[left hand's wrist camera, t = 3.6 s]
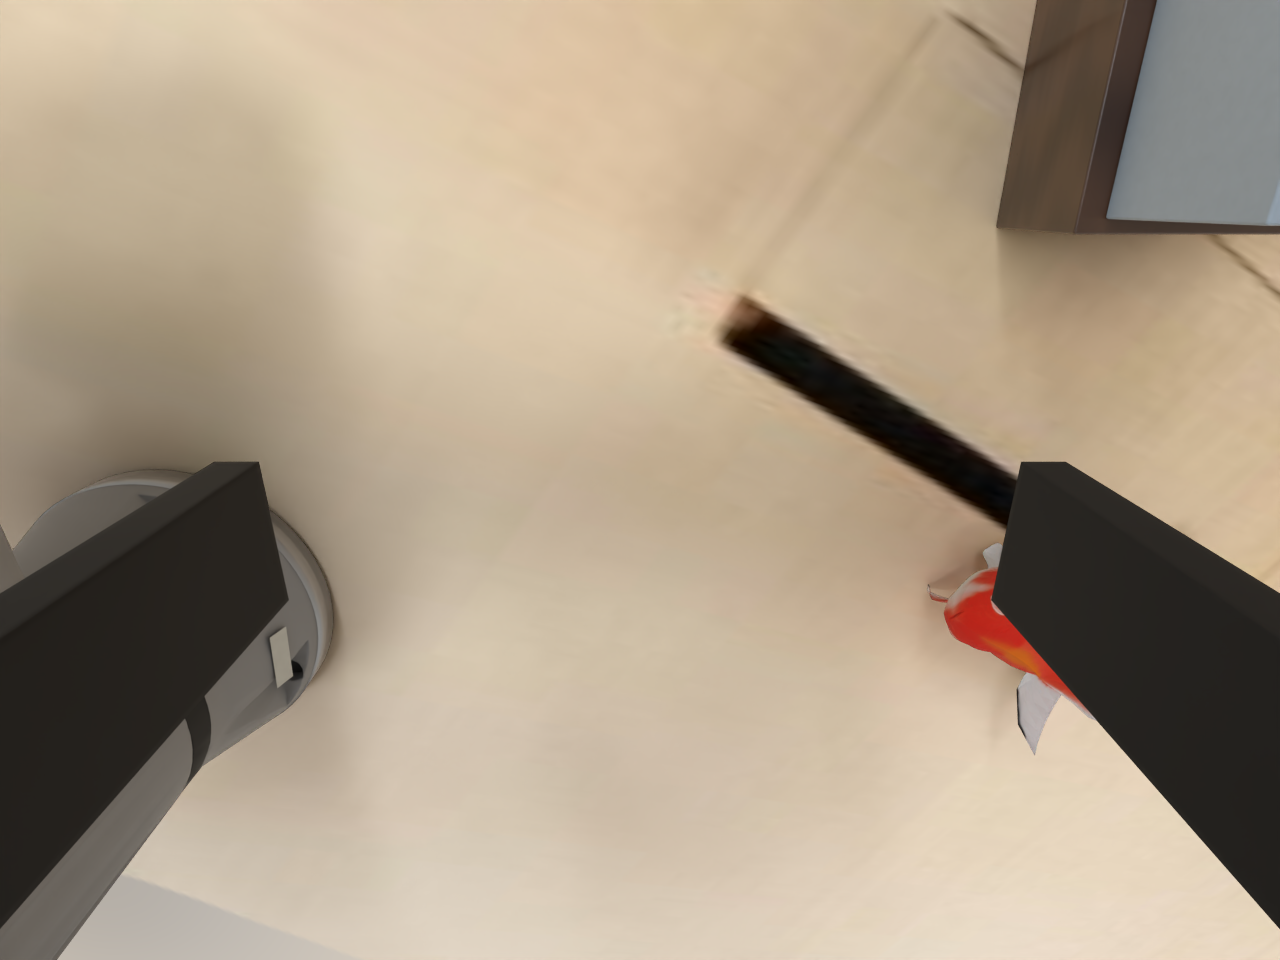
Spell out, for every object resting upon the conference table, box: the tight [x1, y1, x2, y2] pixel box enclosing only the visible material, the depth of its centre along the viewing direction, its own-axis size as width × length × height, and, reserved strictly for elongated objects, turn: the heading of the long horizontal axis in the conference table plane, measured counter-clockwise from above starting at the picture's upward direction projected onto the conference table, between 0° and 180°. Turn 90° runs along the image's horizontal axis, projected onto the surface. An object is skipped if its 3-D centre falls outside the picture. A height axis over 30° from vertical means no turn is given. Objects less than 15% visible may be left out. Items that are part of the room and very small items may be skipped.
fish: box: [927, 543, 1097, 755], centre depth 34 cm, size 11×16×10 cm
